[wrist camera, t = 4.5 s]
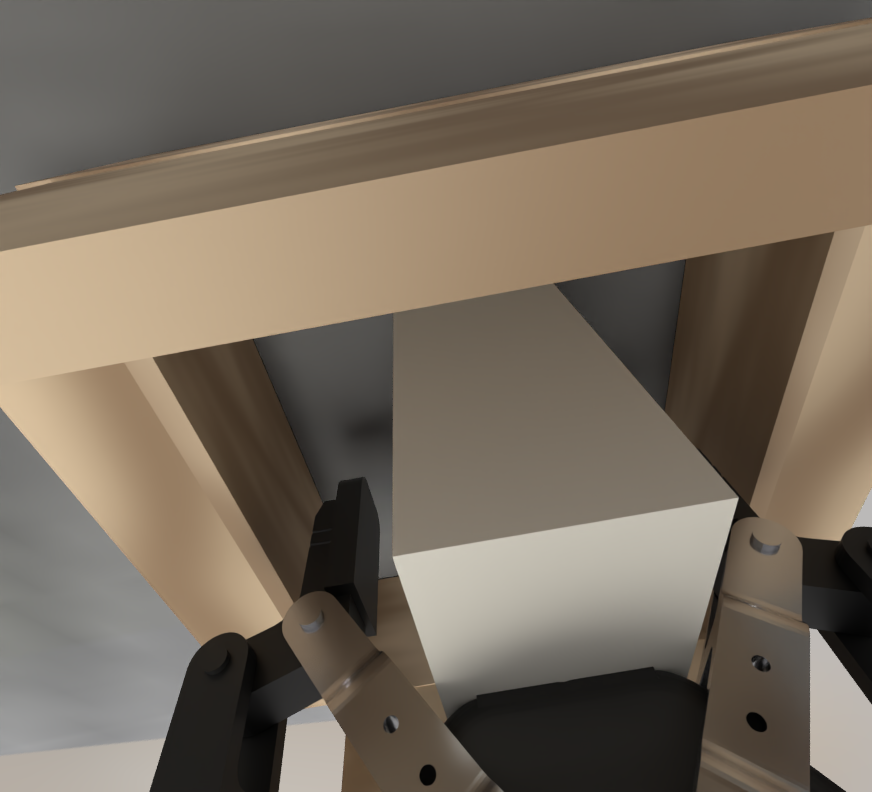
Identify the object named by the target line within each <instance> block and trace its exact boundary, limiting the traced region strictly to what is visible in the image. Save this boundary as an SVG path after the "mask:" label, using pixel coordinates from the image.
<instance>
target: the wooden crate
mask: <svg viewBox="0 0 872 792" xmlns="http://www.w3.org/2000/svg"><path fill="white" fill-rule="evenodd" d="M15 187H16V189H17V190H18V191H15V192H10V193H6V194H2V195H0V407H1V408H2V410H3V411H4V412H5V413H6V414H7V416H8V417H9V418H10V419H11V420H12V422H13V423H14V424H15V425H16V426H17V427H18V429H19V430H20V431H21V432H22V433H23V435H24V436H25V437H26V438H27V439H28V440H29V442H30V443H31V444H32V445H33V446H34V448H35V449H36V450H37V451H38V452H39V454H40V455H41V456H42V457H43V458H44V459H45V461H46V462H47V463H48V464H49V465H50V467H51V468H52V469H53V470H54V471H55V473H56V474H57V475H58V476H59V477H60V478H61V480H62V481H63V482H64V483H65V484H66V486H67V487H68V488H69V489H70V490H71V492H72V493H73V494H74V495H75V496H76V497H77V499H78V500H79V501H80V502H81V503H82V505H83V506H84V507H85V508H86V509H87V510H88V512H89V513H90V514H91V515H92V516H93V518H94V519H95V520H96V521H97V522H98V524H99V525H100V526H101V527H102V528H103V529H104V531H105V532H106V533H107V534H108V535H109V537H110V538H111V539H112V540H113V541H114V543H115V544H116V545H117V546H118V547H119V548H120V550H121V551H122V552H123V553H124V554H125V556H126V557H127V558H128V559H129V560H130V561H131V563H132V564H133V565H134V566H135V567H136V569H137V570H138V571H139V572H140V573H141V575H142V576H143V577H144V578H145V579H146V580H147V582H148V583H149V584H150V585H151V586H152V588H153V589H154V590H155V591H156V592H157V594H158V595H159V596H160V597H161V598H162V599H163V601H164V602H165V603H166V604H167V605H168V607H169V608H170V609H171V610H172V611H173V613H174V614H175V615H176V616H177V617H178V618H179V620H180V621H181V622H182V623H183V624H184V626H185V627H186V628H187V629H188V630H189V631H190V633H191V634H192V635H193V636H194V637H195V639H196V640H197V641H198V642H199V643H200V645H201V646H203V645H204V644H205V643H206V642H208V641H209V640H210V639H212V638H214V637H215V636H218V635H220V634H223V633H228V632H235V633H238V634H240V635H242V636H243V637H244V638H245V639H248V638H250V637H252V636H254V635H256V634H258V633H260V632H262V631H264V630H266V629H268V628H270V627H272V626H274V625H276V624H278V623H279V622H280V621H282V620H283V619H284V617H285V614H286V612H287V611H288V609H289V608H290V607H291V605H292V604H293V603H294V602H295V601H297V600H298V599H299V597H300V594H301V589H302V583H303V578H304V573H305V567H306V562H307V557H308V551H309V547H310V541H311V536H312V534H313V532H312V530H313V525H314V520H315V516H316V514H317V513H318V511H319V509H320V508H321V506H322V505H323V503H322V501H321V498H320V496H319V494H318V491H317V489H316V487H315V484H314V482H313V480H312V477H311V475H310V472H309V470H308V468H307V465H306V463H305V461H304V458H303V456H302V454H301V451H300V449H299V447H298V444H297V442H296V440H295V437H294V435H293V433H292V430H291V428H290V426H289V423H288V421H287V419H286V416H285V414H284V412H283V409H282V407H281V405H280V402H279V400H278V398H277V395H276V393H275V391H274V388H273V386H272V383H271V381H270V379H269V376H268V374H267V372H266V369H265V367H264V365H263V362H262V360H261V358H260V355H259V353H258V351H257V348H256V346H255V344H254V341H253V339H254V338H259V337H265V336H270V335H276V334H281V333H287V332H292V331H297V330H303V329H308V328H314V327H319V326H325V325H330V324H335V323H341V322H346V321H352V320H357V319H363V318H368V317H373V316H379V315H384V314H390V313H395V312H401V311H406V310H411V309H417V308H422V307H428V306H433V305H439V304H444V303H449V302H455V301H460V300H466V299H471V298H477V297H482V296H487V295H493V294H498V293H504V292H509V291H514V290H520V289H525V288H531V287H536V286H542V285H547V284H552V283H558V282H563V281H569V280H574V279H580V278H585V277H590V276H596V275H601V274H607V273H612V272H618V271H623V270H628V269H634V268H639V267H645V266H650V265H656V264H661V263H666V262H672V261H677V260H683V259H686V264H685V271H684V278H683V285H682V293H681V300H680V307H679V314H678V321H677V328H676V335H675V342H674V349H673V357H672V364H671V371H670V378H669V385H668V392H667V399H666V406H665V413H666V414H667V415H668V416H669V417H670V419H671V420H672V421H673V422H674V423H675V424H676V426H677V427H678V428H679V429H680V430H681V431H682V432H683V434H684V435H685V436H686V437H687V438H688V439H689V441H690V442H691V443H692V444H693V445H694V446H695V447H696V448H698V449H700V450H701V451H702V453H703V454H704V455H705V456H706V457H707V458H708V459H709V461H710V462H711V463H712V466H715V467H716V468H717V470H718V471H719V472H720V473H721V476H722V477H723V476H724V478H725V479H726V480H727V481H728V482H729V483H730V484H731V486H732V487H733V488H734V489H735V490H736V491H737V492H738V494H739V495H740V496H741V497H742V498H743V499H744V500H745V502H746V503H747V504H748V505H749V506H750V507H751V508H752V510H753V511H754V512H755V513H756V514H757V515H758V516H759V517H760V518H764V519H769V520H772V521H774V522H777V523H779V524H781V525H783V526H784V527H786V528H787V529H789V530H790V531H791V532H792V533H794V534H795V536H797V537H803V538H813V539H823V540H834V541H840V540H841V538H842V536H843V535H844V533H845V532H846V531H848V530H849V529H851V527H852V525H853V524H854V522H855V520H856V518H857V516H858V514H859V512H860V510H861V508H862V506H863V504H864V502H865V500H866V498H867V496H868V494H869V492H870V490H871V488H872V18H866V19H860V20H854V21H848V22H843V23H837V24H831V25H825V26H819V27H813V28H808V29H802V30H796V31H790V32H784V33H778V34H772V35H767V36H761V37H755V38H749V39H743V40H738V41H733V42H728V43H722V44H717V45H712V46H707V47H702V48H697V49H692V50H687V51H681V52H676V53H671V54H666V55H661V56H656V57H651V58H646V59H640V60H635V61H630V62H625V63H620V64H615V65H610V66H605V67H599V68H594V69H589V70H584V71H579V72H574V73H569V74H563V75H558V76H553V77H548V78H543V79H538V80H533V81H528V82H522V83H517V84H512V85H507V86H502V87H497V88H492V89H487V90H481V91H476V92H471V93H466V94H461V95H456V96H451V97H446V98H440V99H435V100H430V101H425V102H420V103H415V104H410V105H405V106H399V107H394V108H389V109H384V110H379V111H374V112H369V113H364V114H358V115H353V116H348V117H343V118H338V119H333V120H328V121H323V122H317V123H312V124H307V125H302V126H297V127H292V128H287V129H282V130H276V131H271V132H266V133H261V134H256V135H251V136H246V137H240V138H235V139H230V140H225V141H220V142H215V143H210V144H205V145H199V146H194V147H189V148H184V149H179V150H174V151H169V152H164V153H158V154H153V155H148V156H144V157H140V158H135V159H131V160H127V161H122V162H118V163H113V164H109V165H105V166H100V167H96V168H92V169H87V170H83V171H78V172H74V173H70V174H65V175H61V176H57V177H52V178H48V179H43V180H39V181H35V182H30V183H26V184H22V185H17V186H15ZM713 591H714V590H713V589H712V593H711V596H710V600H709V603H708V607H707V610H706V614H705V617H704V621H703V624H702V627H701V631H700V634H699V638H698V641H697V645H696V648H695V652H694V655H693V659H692V662H691V666H690V669H689V673H688V676H687V679H689V680H691V681H694V682H696V680H697V676H698V671H699V667H700V663H701V658H702V652H703V646H704V640H705V634H706V628H707V623H708V617H709V611H710V605H711V599H712V595H713ZM368 639H369V640H370V641H371V642H372V644H373V645H374V646H375V647H376V648H377V649H378V650H379V651H383V652H384V653H385V654H386V655H387V656H388V657H389V658H390V659H391V660H392V661H393V663H394V664H395V665H396V666H397V667H398V669H399V670H400V671H401V672H402V673H403V675H404V676H405V677H406V678H407V679H408V681H409V682H410V683H411V684H412V686H413V687H414V688H415V689H416V690H417V692H418V693H419V694H420V695H421V696H422V698H423V699H424V700H425V701H426V702H427V704H428V705H429V706H430V707H431V709H432V710H433V711H434V712H435V713H436V715H437V716H438V717H439V718H440V719H441V721H442V722H443V723H445V722H446V720H447V717H446V714H445V711H444V708H443V705H442V702H441V699H440V696H439V693H438V690H437V687H436V684H435V681H434V678H433V675H432V672H431V669H430V667H429V664H428V661H427V658H426V655H425V652H424V649H423V646H422V643H421V640H420V637H419V634H418V631H417V628H416V625H415V622H414V619H413V616H412V613H411V610H410V607H409V604H408V601H407V598H406V595H405V593H404V590H403V587H402V584H401V581H400V578H399V576H398V577H392V578H386V579H380V580H378V605H377V636H371V637H368ZM323 705H327V704H326V703H325V701H324V699H321V700H319V701H317V702H315V703H313V704H312V705H310V706H308V707H306V708H311V707H317V706H323ZM304 709H305V708H304ZM341 792H382V791H381V789H380V788H379V786H378V785H377V783H376V782H375V780H374V778H373V777H372V775H371V774H370V772H369V770H368V769H367V767H366V766H365V764H364V763H363V761H362V759H361V758H360V756H359V755H358V753H357V752H356V750H355V748H354V747H353V745H352V744H351V742H350V740H349V739H348V737H347V736H346V739H345V752H344V766H343V779H342V791H341Z"/></svg>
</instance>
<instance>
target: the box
mask: <svg viewBox="0 0 872 792" xmlns="http://www.w3.org/2000/svg"><path fill="white" fill-rule="evenodd" d="M738 499H739V497H738V496H737V495H736V494H735V493H734V491H733V490H732V489H731V488H730V487H729V486H728V484H727V483H726V482H725V481H724V480H723V479H722V478H721V476H720V475H719V474H718V473H717V472H716V471H715V469H714V468H713V467H712V466H711V465H710V464H709V463H708V461H707V460H706V459H705V458H704V457H703V456H702V454H701V453H700V452H699V451H698V450H697V449H696V447H695V446H694V445H693V444H692V443H691V442H690V441H689V439H688V438H687V437H686V436H685V435H684V434H683V432H682V431H681V430H680V429H679V428H678V427H677V426H676V424H675V423H674V422H673V421H672V420H671V419H670V417H669V416H668V415H667V414H666V413H665V412H664V411H663V409H662V408H661V407H660V406H659V405H658V404H657V402H656V401H655V400H654V399H653V398H652V397H651V396H650V394H649V393H648V392H647V391H646V390H645V389H644V387H643V386H642V385H641V384H640V383H639V382H638V380H637V379H636V378H635V377H634V376H633V375H632V374H631V372H630V371H629V370H628V369H627V368H626V367H625V365H624V364H623V363H622V362H621V361H620V360H619V359H618V357H617V356H616V355H615V354H614V353H613V352H612V350H611V349H610V348H609V347H608V346H607V345H606V344H605V342H604V341H603V340H602V339H601V338H600V337H599V335H598V334H597V333H596V332H595V331H594V330H593V329H592V327H591V326H590V325H589V324H588V323H587V322H586V320H585V319H584V318H583V317H582V316H581V315H580V313H579V312H578V311H577V310H576V309H575V308H574V307H573V305H572V304H571V303H570V302H569V301H568V300H567V298H566V297H565V296H564V295H563V294H562V293H561V292H560V290H559V289H558V288H557V287H556V286H555V285H554V283H552V284H547V285H542V286H536V287H531V288H525V289H520V290H514V291H509V292H504V293H498V294H493V295H487V296H482V297H477V298H471V299H466V300H460V301H455V302H449V303H444V304H439V305H433V306H428V307H422V308H417V309H411V310H406V311H401V312H395V313H393V531H392V557H393V560H394V563H395V566H396V569H397V572H398V575H399V578H400V581H401V584H402V587H403V590H404V593H405V595H406V598H407V601H408V604H409V607H410V610H411V613H412V616H413V619H414V622H415V625H416V628H417V631H418V634H419V637H420V640H421V643H422V646H423V649H424V652H425V655H426V658H427V661H428V664H429V667H430V669H431V672H432V675H433V678H434V681H435V684H436V687H437V690H438V693H439V696H440V699H441V702H442V705H443V708H444V711H445V714H446V717H447V719H448V718H449V717H450V716H451V715H452V714H453V713H454V712H455V711H456V710H457V709H458V708H459V707H461V706H462V705H464V704H466V703H468V702H470V701H472V700H475V699H477V696H476V695H480V694H486V693H493V692H499V691H505V690H511V689H517V688H523V687H530V686H536V685H542V684H548V683H554V682H566V681H569V680H573V679H579V678H585V677H591V676H597V675H603V674H610V673H616V672H622V671H628V670H634V669H640V668H647V667H654V669H655V670H662V671H667V672H671V673H674V674H677V675H680V676H683V677H685V678H687V676H688V673H689V669H690V666H691V662H692V659H693V655H694V652H695V648H696V645H697V641H698V638H699V634H700V631H701V627H702V624H703V621H704V617H705V614H706V610H707V607H708V603H709V600H710V596H711V593H712V589H713V586H714V582H715V579H716V575H717V572H718V568H719V565H720V561H721V558H722V554H723V551H724V547H725V544H726V540H727V537H728V534H729V530H730V527H731V523H732V520H733V516H734V513H735V509H736V506H737V502H738Z"/></svg>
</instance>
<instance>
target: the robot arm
mask: <svg viewBox="0 0 872 792" xmlns="http://www.w3.org/2000/svg"><path fill="white" fill-rule="evenodd" d="M696 449H697V450H698V451H699V452H700V453H701V454H702V456H703V457H704V458H705V459H706V460H707V461H708V463H709V464H710V465H711V466H712V463H711V462H710V461H709V459H708V458H707V457H706V456H705V455H704V454H703V453H702V451H701V450H700V449H698V448H696ZM712 467H713V468H714V469H715V471H716V472H717V473H718V474H719V475H720V476H721V473H720V472H719V471H718V470H717V468H716V467H715V466H712ZM721 478H722V479H723V480H724V481H725V482H726V483H727V484H728V486H729V487H730V488H731V489H732V490H733V491H734V493H735V494H736V495H737V496H738V497H739V499H738V502H737V506H736V509H735V513H734V516H733V520H732V523H731V527H730V530H729V534H728V537H727V540H726V544H725V547H724V551H723V554H722V558H721V561H720V565H719V568H718V572H717V575H716V579H715V582H714V586H713V590H714V591H713V595H712V599H711V605H710V611H709V617H708V623H707V628H706V634H705V640H704V646H703V652H702V658H701V663H700V667H699V671H698V676H697V680H696V682H694V681H691V680H689V679H687V678H685V677H683V676H680V675H677V674H674V673H671V672H667V671H662V670H655V669H654V667H647V668H640V669H634V670H628V671H622V672H616V673H610V674H603V675H597V676H591V677H585V678H579V679H573V680H569V681H566V682H554V683H548V684H542V685H536V686H530V687H523V688H517V689H511V690H505V691H499V692H493V693H486V694H480V695H476V696H477V699H475V700H472V701H470V702H468V703H466V704H464V705H462V706H461V707H459V708H458V709H457V710H456V711H455V712H454V713H453V714H452V715H451V716H450V717H449V718H448V719H447V720H446V722H445V723H443V722H442V721H441V719H440V718H439V717H438V716H437V715H436V713H435V712H434V711H433V710H432V709H431V707H430V706H429V705H428V704H427V702H426V701H425V700H424V699H423V698H422V696H421V695H420V694H419V693H418V692H417V690H416V689H415V688H414V687H413V686H412V684H411V683H410V682H409V681H408V679H407V678H406V677H405V676H404V675H403V673H402V672H401V671H400V670H399V669H398V667H397V666H396V665H395V664H394V663H393V661H392V660H391V659H390V658H389V657H388V656H387V655H386V654H385V653H384V652H383V651H379V650H378V649H377V648H376V647H375V646H374V645H373V644H372V642H371V641H370V640H369V639H368V637H371V636H377V605H378V573H379V541H380V526H379V519H378V514H377V510H376V507H375V504H374V501H373V498H372V495H371V492H370V489H369V486H368V483H367V481H366V479H365V477H361V478H355V479H349V480H344V481H340V482H339V484H338V491H337V498H336V500H331V501H325V502H324V503H323V505H322V506H321V508H320V509H319V511H318V513H317V514H316V516H315V520H314V525H313V530H312V532H313V534H312V536H311V541H310V547H309V551H308V557H307V562H306V567H305V573H304V578H303V583H302V589H301V594H300V597H299V599H298V600H297V601H295V602H294V603H293V604H292V605H291V607H290V608H289V609H288V611H287V612H286V614H285V617H284V619H283V620H282V621H280V622H279V623H278V624H276V625H274V626H272V627H270V628H268V629H266V630H264V631H262V632H260V633H258V634H256V635H254V636H252V637H250V638H248V639H245V638H244V637H243V636H242V635H240V634H238V633H235V632H228V633H223V634H220V635H218V636H215V637H214V638H212V639H210V640H209V641H208V642H206V643H205V644H204V645H203V646H202V647H201V648H200V649H199V650H198V651H197V652H196V653H195V655H194V656H193V658H192V660H191V661H190V663H189V666H188V668H187V671H186V675H185V678H184V681H183V684H182V688H181V691H180V694H179V697H178V701H177V704H176V707H175V710H174V714H173V717H172V720H171V723H170V727H169V730H168V733H167V736H166V740H165V743H164V746H163V749H162V753H161V756H160V760H159V763H158V766H157V769H156V772H155V776H154V779H153V782H152V785H151V788H150V792H278V790H279V783H280V774H281V766H282V758H283V750H284V741H285V733H286V724H287V718H288V717H290V716H291V715H293V714H295V713H297V712H299V711H301V710H302V709H304V708H306V707H308V706H310V705H312V704H313V703H315V702H317V701H319V700H321V699H324V701H325V703H326V704H327V706H328V707H329V709H330V710H331V712H332V714H333V715H334V717H335V718H336V720H337V722H338V723H339V724H340V726H341V728H342V729H343V731H344V732H345V734H346V736H347V737H348V739H349V740H350V742H351V744H352V745H353V747H354V748H355V750H356V752H357V753H358V755H359V756H360V758H361V759H362V761H363V763H364V764H365V766H366V767H367V769H368V770H369V772H370V774H371V775H372V777H373V778H374V780H375V782H376V783H377V785H378V786H379V788H380V789H381V791H382V792H846V791H845V790H843V789H842V788H841V787H839V786H838V785H836V784H835V783H834V782H832V781H831V780H830V779H828V778H827V777H825V776H824V775H823V774H822V773H820V772H819V771H818V770H816V769H815V768H813V767H812V766H811V765H810V631H809V628H812V629H817V630H818V631H819V633H820V634H821V635H822V637H823V638H824V639H825V641H826V642H827V643H828V645H829V646H830V648H831V649H832V651H833V652H834V653H835V655H836V656H837V657H838V659H839V660H840V662H841V663H842V664H843V666H844V667H845V668H846V669H847V671H848V672H849V674H850V675H851V677H852V678H853V679H854V681H855V682H856V683H857V685H858V686H859V687H860V689H861V690H862V692H863V693H864V694H865V696H866V697H867V698H868V700H869V701H870V702H871V704H872V527H855V528H852V529H849V530H848V531H846V532H845V533H844V535H843V536H842V538H841V540H840V541H834V540H823V539H813V538H803V537H797V536H795V534H794V533H792V532H791V531H790V530H789V529H787V528H786V527H784V526H783V525H781V524H779V523H777V522H774V521H772V520H769V519H764V518H760V517H759V516H758V515H757V514H756V513H755V512H754V511H753V510H752V508H751V507H750V506H749V505H748V504H747V503H746V502H745V500H744V499H743V498H742V497H741V496H740V495H739V494H738V492H737V491H736V490H735V489H734V488H733V487H732V486H731V484H730V483H729V482H728V481H727V480H726V479H725V478H724V476H723V477H722V476H721Z"/></svg>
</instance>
